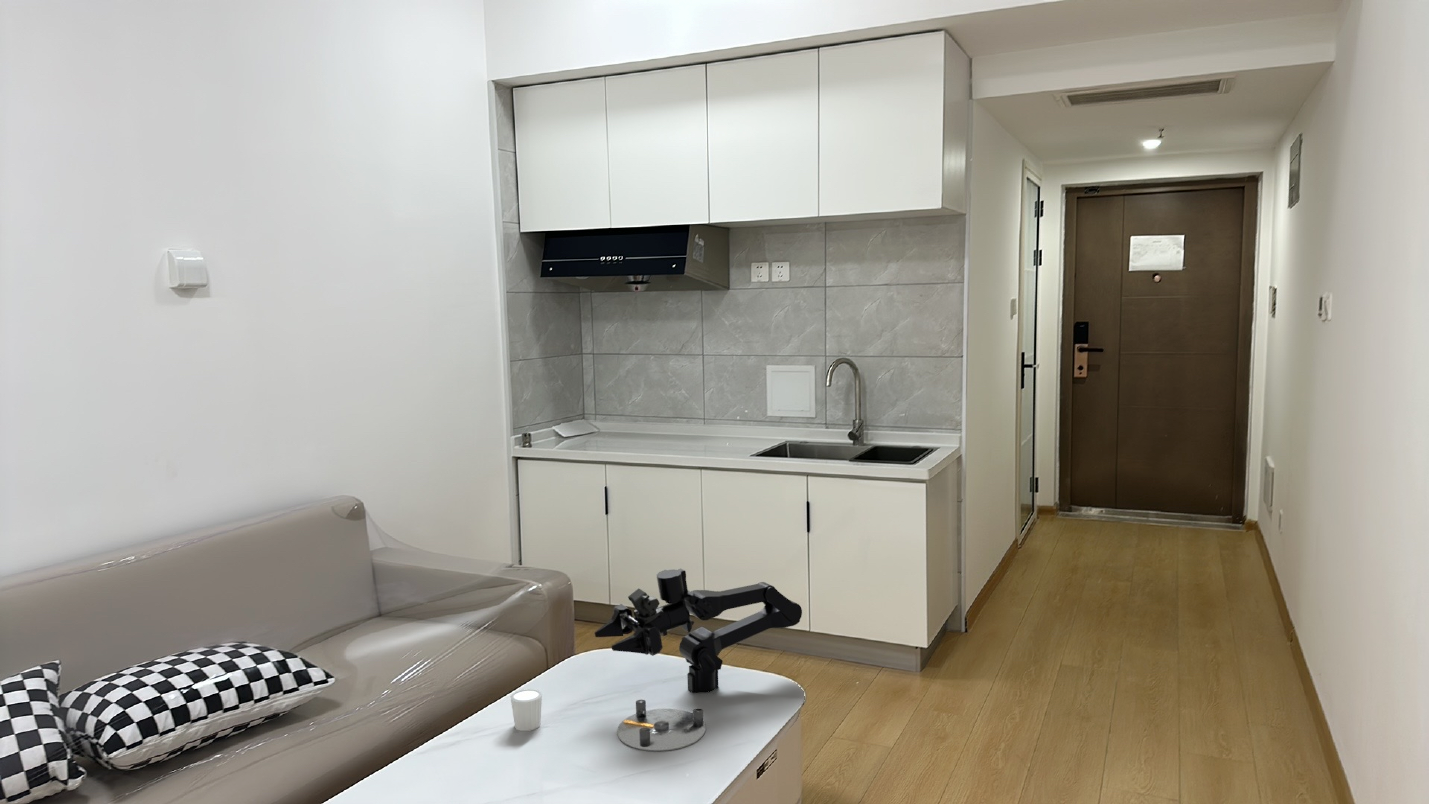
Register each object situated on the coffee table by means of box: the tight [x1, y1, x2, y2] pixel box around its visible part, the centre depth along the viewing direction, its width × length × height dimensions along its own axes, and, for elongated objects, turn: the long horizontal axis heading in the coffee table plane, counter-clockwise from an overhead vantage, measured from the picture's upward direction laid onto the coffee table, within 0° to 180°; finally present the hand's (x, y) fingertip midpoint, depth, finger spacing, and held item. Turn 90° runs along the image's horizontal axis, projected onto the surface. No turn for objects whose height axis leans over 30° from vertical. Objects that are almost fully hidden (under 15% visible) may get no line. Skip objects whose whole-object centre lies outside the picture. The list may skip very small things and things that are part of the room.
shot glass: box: [510, 688, 543, 732], centre depth 208 cm, size 7×7×7 cm
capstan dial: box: [617, 699, 707, 752], centre depth 203 cm, size 19×19×4 cm
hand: (603, 641), depth 210 cm, fingers open, 9 cm apart
